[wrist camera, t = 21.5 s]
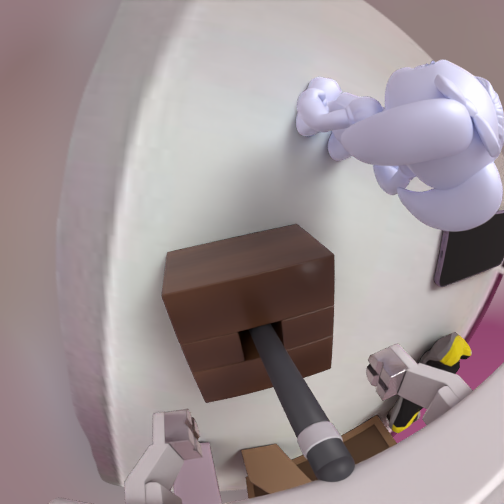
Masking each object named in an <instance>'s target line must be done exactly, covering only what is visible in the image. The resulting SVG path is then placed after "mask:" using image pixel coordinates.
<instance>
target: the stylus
mask: <svg viewBox="0 0 504 504" xmlns="http://www.w3.org/2000/svg"><path fill="white" fill-rule="evenodd" d="M248 330H249V332H250V335H251V337H252V339H253V342H254V344H255V346H256V349H257V351H258V353H259V355H260V358H261V360H262V362H263V365H264V367H265V369H266V371H267V374H268V376H269V378H270V380H271V383H272V385H273V387H274V389H275V391H276V394H277V396H278V398H279V400H280V402H281V405H282V407H283V409H284V411H285V413H286V415H287V418H288V420H289V422H290V424H291V426H292V428H293V430H294V432H295V435H296V437H297V442H298V444H299V447H300V449H301V451H302V453H303V455H304V457H305V458H306V459H308V461H309V463H310V465H311V468H312V470H313V472H314V474H315V476H316V477H317V479H318V480H322V481H326V482H338V481H342V480H344V479H346V478H347V477H349V476H350V475H351V474H352V472H353V471H354V468H355V462H354V459H353V457H352V456H351V454H350V453H349V451H348V449H347V448H346V446H345V445H344V443H343V440H342V437H341V435H340V434H339V432H338V431H337V429H336V428H335V426H334V424H333V423H331V422H330V421H329V419H328V418H327V416H326V414H325V413H324V411H323V410H322V408H321V406H320V405H319V403H318V402H317V400H316V398H315V397H314V395H313V393H312V392H311V390H310V389H309V387H308V385H307V384H306V382H305V380H304V379H303V377H302V375H301V374H300V372H299V371H298V369H297V367H296V366H295V364H294V362H293V361H292V359H291V357H290V356H289V354H288V352H287V351H286V349H285V347H284V346H283V344H282V342H281V341H280V339H279V337H278V336H277V334H276V332H275V330H274V329H273V327H272V325H271V324H266V325H263V326H259V327H255V328H251V329H248Z"/></svg>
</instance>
